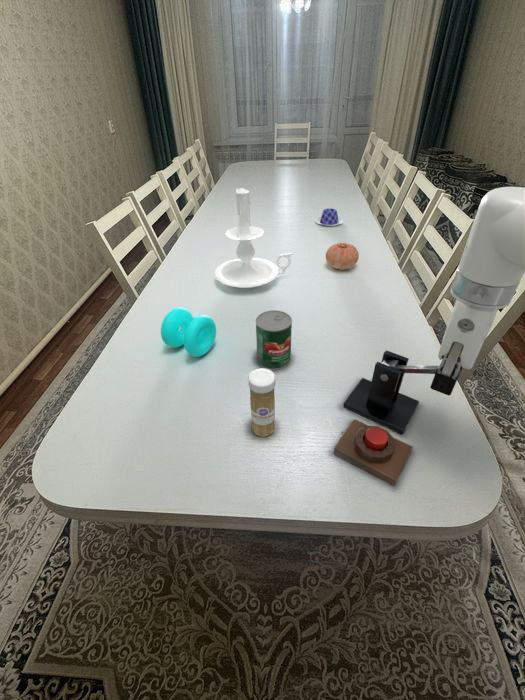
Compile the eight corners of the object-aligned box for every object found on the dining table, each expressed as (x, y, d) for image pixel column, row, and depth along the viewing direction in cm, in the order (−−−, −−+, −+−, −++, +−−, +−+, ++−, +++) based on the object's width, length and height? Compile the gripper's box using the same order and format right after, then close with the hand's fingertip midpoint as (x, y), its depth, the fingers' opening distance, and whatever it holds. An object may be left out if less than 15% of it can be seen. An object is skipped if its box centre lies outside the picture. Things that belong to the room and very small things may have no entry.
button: (389, 439, 62) (391, 433, 61) (381, 454, 59) (383, 447, 58) (369, 430, 63) (370, 423, 62) (360, 444, 61) (362, 437, 60)
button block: (410, 452, 63) (415, 440, 61) (394, 486, 58) (399, 474, 56) (352, 424, 68) (355, 412, 66) (333, 453, 63) (335, 441, 61)
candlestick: (295, 294, 108) (299, 196, 90) (213, 297, 107) (201, 200, 90) (288, 264, 124) (290, 177, 106) (216, 267, 123) (207, 180, 106)
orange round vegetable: (359, 274, 117) (363, 250, 112) (326, 274, 117) (328, 251, 113) (353, 260, 126) (357, 237, 121) (322, 260, 126) (324, 238, 121)
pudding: (342, 227, 150) (344, 215, 147) (314, 226, 152) (314, 214, 149) (342, 218, 160) (344, 206, 156) (315, 217, 162) (316, 205, 158)
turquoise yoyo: (194, 366, 83) (188, 331, 77) (162, 353, 87) (154, 318, 81) (220, 343, 89) (216, 309, 83) (189, 332, 94) (183, 298, 87)
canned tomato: (276, 375, 80) (276, 335, 73) (250, 360, 84) (247, 321, 77) (297, 357, 84) (299, 318, 78) (271, 344, 89) (271, 306, 82)
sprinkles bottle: (255, 440, 66) (252, 388, 58) (248, 422, 69) (245, 370, 61) (278, 434, 67) (279, 382, 59) (271, 416, 70) (270, 364, 62)
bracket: (417, 405, 72) (433, 360, 65) (402, 434, 66) (418, 389, 59) (361, 381, 78) (370, 337, 70) (343, 407, 72) (350, 362, 65)
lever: (464, 373, 59) (460, 356, 58) (459, 384, 57) (455, 367, 56) (388, 371, 68) (384, 356, 67) (381, 380, 66) (377, 365, 65)
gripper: (503, 323, 42) (455, 424, 54) (522, 270, 53) (478, 364, 64) (437, 304, 46) (405, 403, 57) (467, 258, 56) (435, 349, 68)
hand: (444, 382), depth 60 cm, fingers open, 4 cm apart
